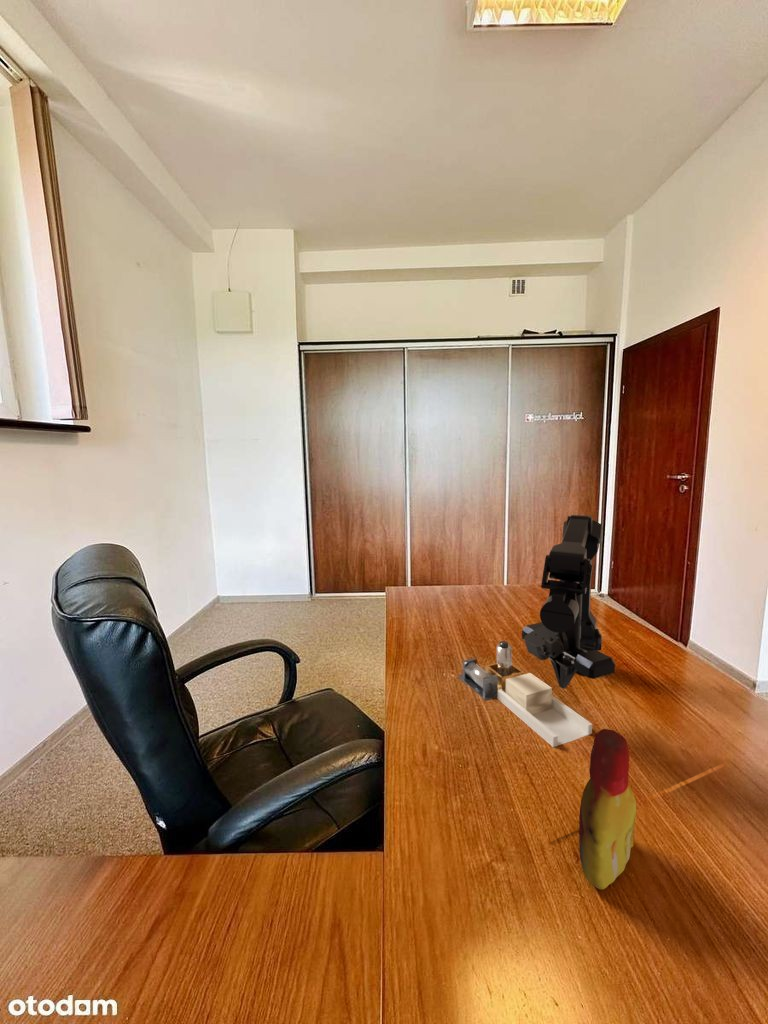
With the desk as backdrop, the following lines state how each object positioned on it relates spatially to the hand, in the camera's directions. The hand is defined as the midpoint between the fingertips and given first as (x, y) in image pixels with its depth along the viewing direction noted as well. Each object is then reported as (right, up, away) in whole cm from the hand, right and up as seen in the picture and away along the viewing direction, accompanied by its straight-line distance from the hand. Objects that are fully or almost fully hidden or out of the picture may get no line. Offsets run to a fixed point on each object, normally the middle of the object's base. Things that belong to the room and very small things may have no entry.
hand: (562, 687), depth 82 cm
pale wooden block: (-3, -8, +11) cm, 14 cm away
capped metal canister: (-5, -7, +21) cm, 23 cm away
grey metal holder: (-7, -8, +21) cm, 23 cm away
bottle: (-5, -14, -25) cm, 29 cm away
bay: (-2, -9, +7) cm, 12 cm away
